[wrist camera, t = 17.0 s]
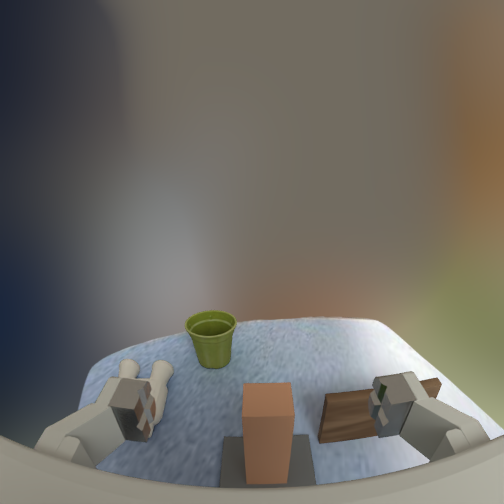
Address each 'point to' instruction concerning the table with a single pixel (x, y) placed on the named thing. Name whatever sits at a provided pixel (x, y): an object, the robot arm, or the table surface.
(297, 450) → the slate pad
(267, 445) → the marked block
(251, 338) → the table surface
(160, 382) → the binoculars
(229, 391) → the table surface
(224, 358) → the plant pot
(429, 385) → the low board
